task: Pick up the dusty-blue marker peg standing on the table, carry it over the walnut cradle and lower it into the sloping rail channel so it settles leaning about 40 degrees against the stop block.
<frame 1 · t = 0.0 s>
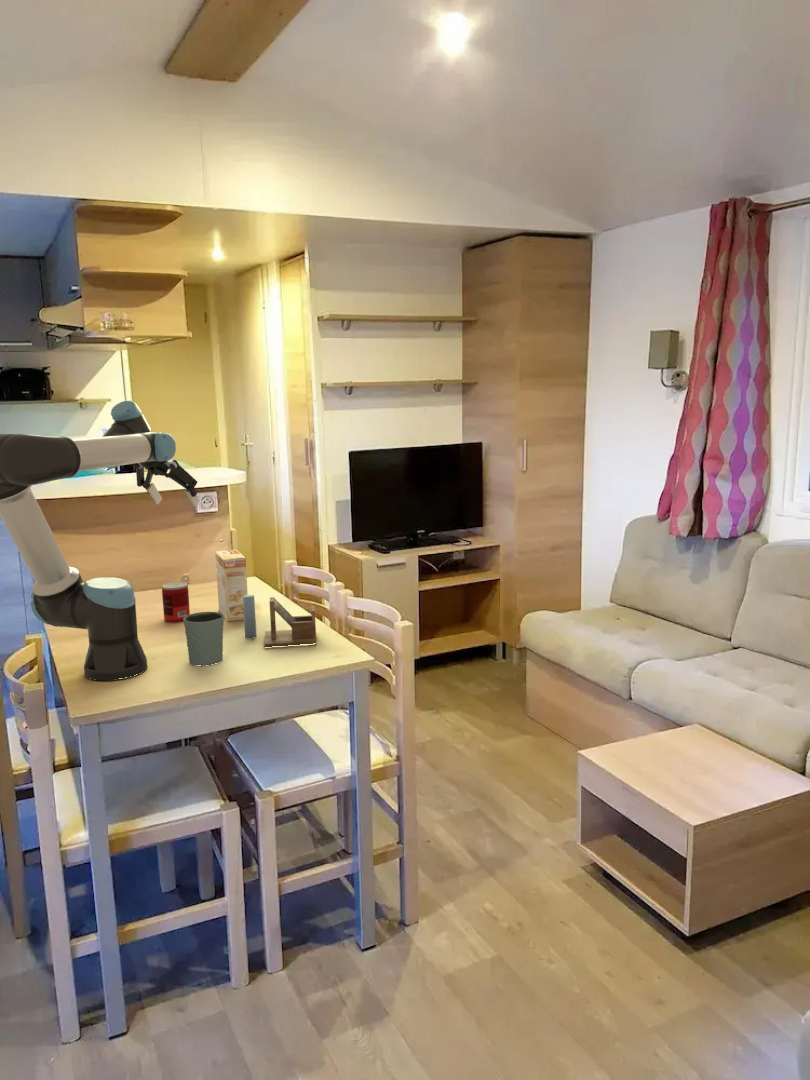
hand: (177, 502, 247), 36 cm above the table, tool tilted 35°, fingers open, 13 cm apart
coffeecake box: (233, 615, 255), on the table
marker peg: (250, 636, 232), on the table
socket cradle: (290, 640, 228), on the table
grey-green cup: (206, 661, 213), on the table
canned food: (177, 619, 251), on the table
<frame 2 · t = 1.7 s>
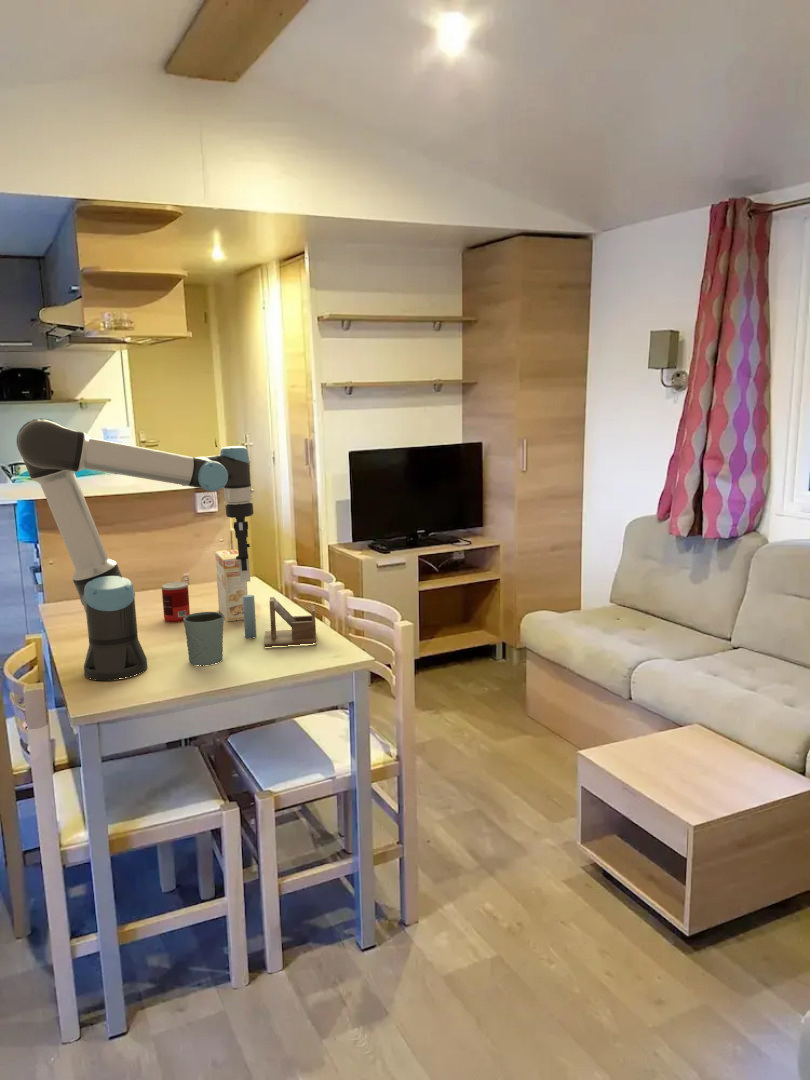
hand: (245, 575, 230), 17 cm above the table, tool pointing down, fingers open, 13 cm apart
nothing on the table moved.
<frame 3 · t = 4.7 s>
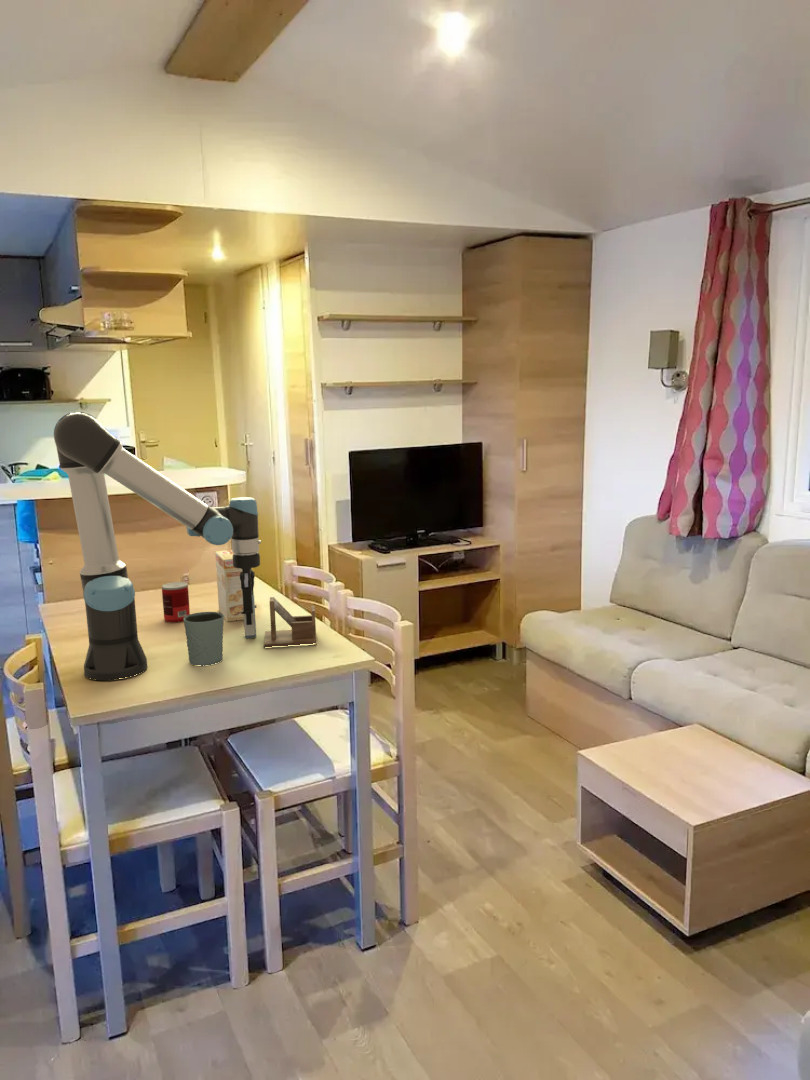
hand: (250, 632, 232), 1 cm above the table, tool pointing down, fingers closed on marker peg, 3 cm apart
marker peg: (250, 636, 232), on the table, touching gripper
everything else where it was.
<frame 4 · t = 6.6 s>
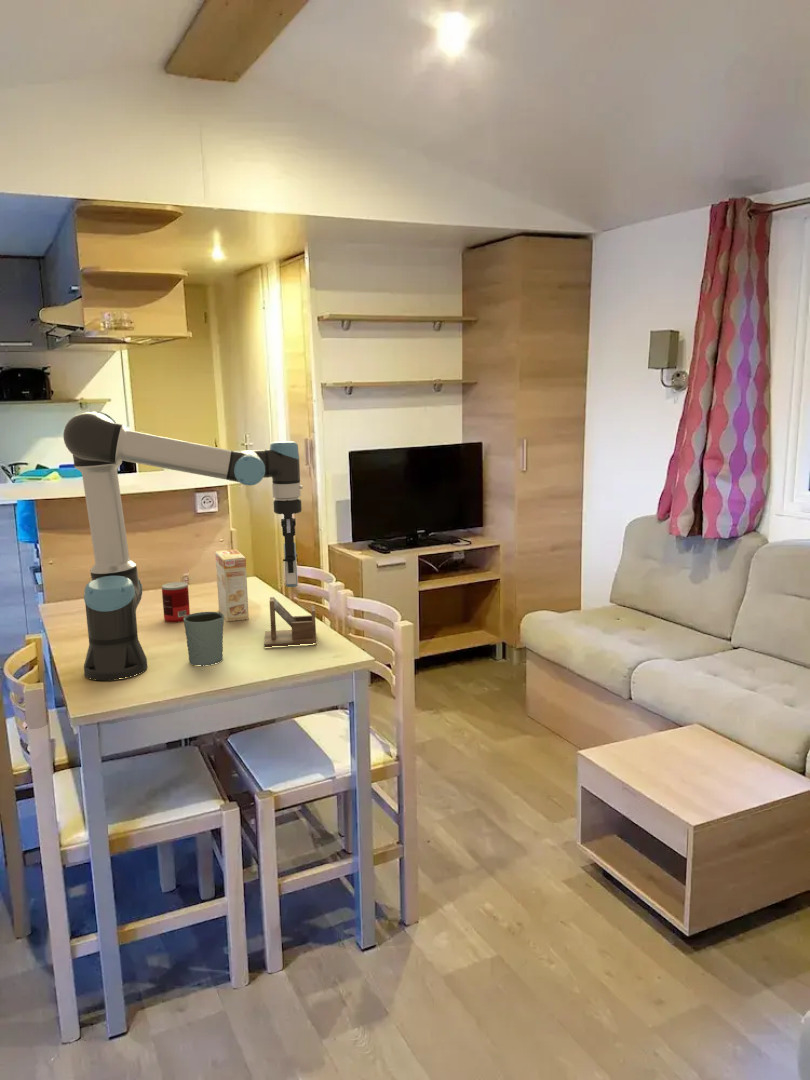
hand: (291, 581, 225), 17 cm above the table, tool pointing down, fingers closed on marker peg, 3 cm apart
marker peg: (291, 585, 225), point 16 cm above the table, touching gripper
everything else where it was.
when the fingers open (9 cm above the table, at t = 8.6 s): marker peg drops 3 cm and tips over, resting on socket cradle.
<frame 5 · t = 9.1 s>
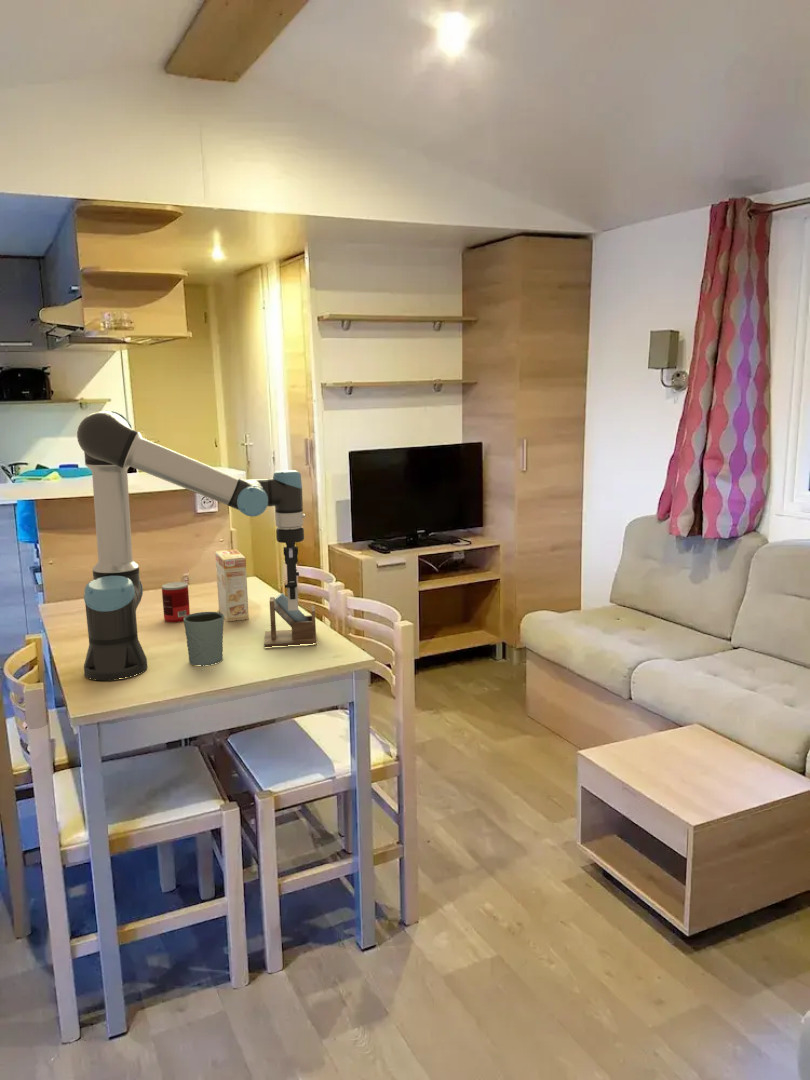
hand: (293, 604, 226), 10 cm above the table, tool pointing down, fingers open, 11 cm apart
marker peg: (307, 627, 228), point 4 cm above the table, tilted 40°, touching socket cradle
everything else where it was.
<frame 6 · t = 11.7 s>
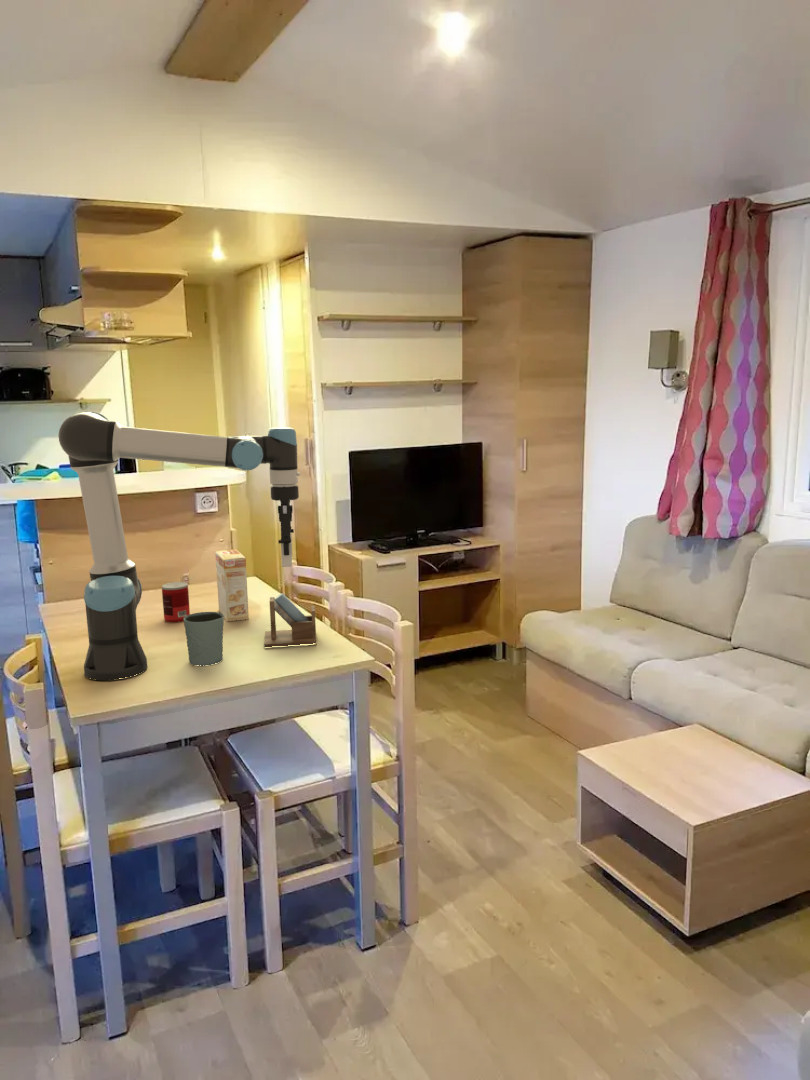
hand: (287, 561, 224), 23 cm above the table, tool pointing down, fingers open, 13 cm apart
nothing on the table moved.
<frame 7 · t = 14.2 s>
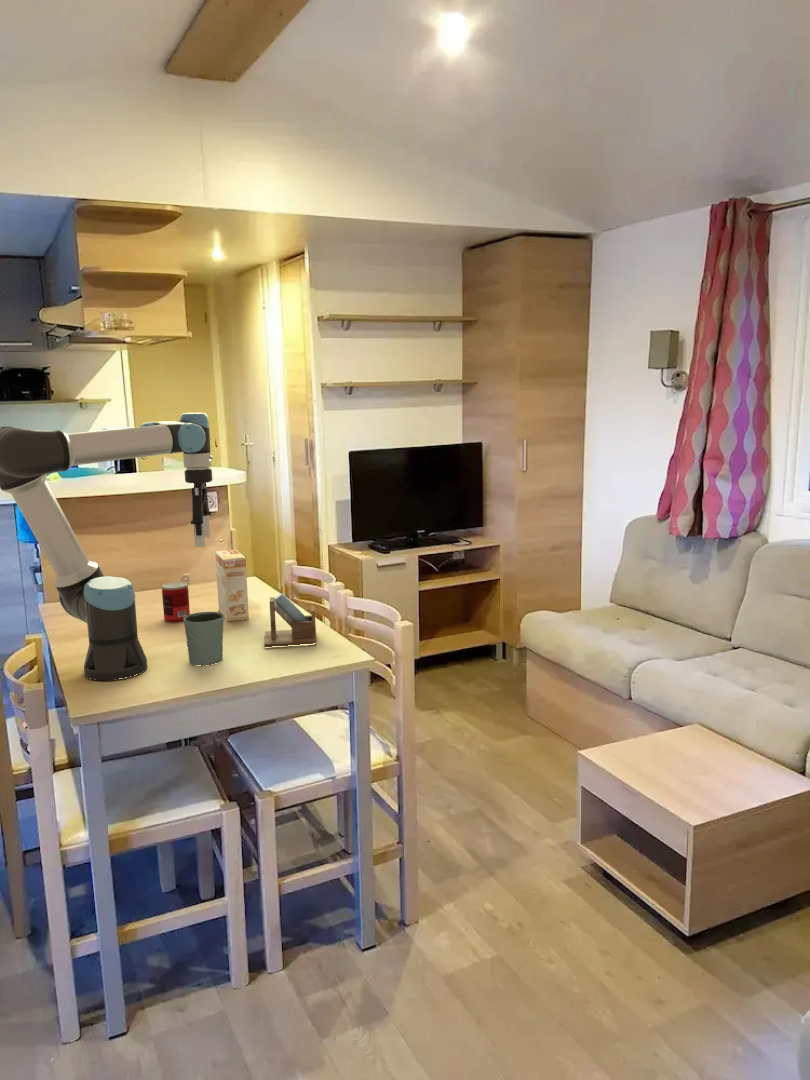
hand: (202, 542, 232), 27 cm above the table, tool pointing down, fingers open, 13 cm apart
nothing on the table moved.
at the end: marker peg tilted 40°; marker peg inside the target area on the socket cradle (0.0 cm from its centre), point 3.5 cm above the socket cradle's base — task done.
